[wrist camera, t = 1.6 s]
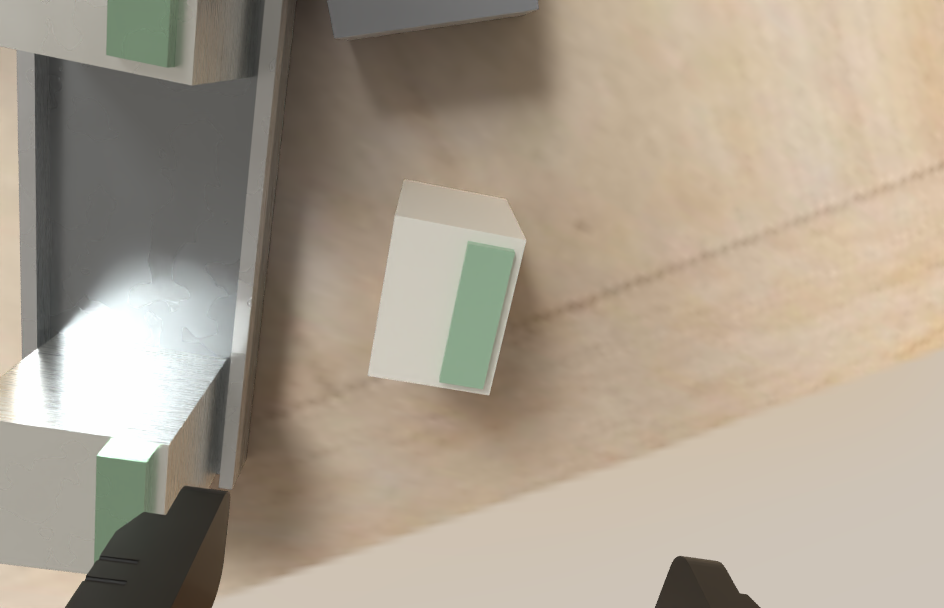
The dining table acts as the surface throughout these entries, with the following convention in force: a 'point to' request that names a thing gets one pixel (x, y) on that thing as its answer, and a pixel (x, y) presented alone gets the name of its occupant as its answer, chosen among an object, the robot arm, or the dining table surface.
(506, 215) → the block
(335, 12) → the block
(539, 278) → the dining table surface
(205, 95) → the rail board
